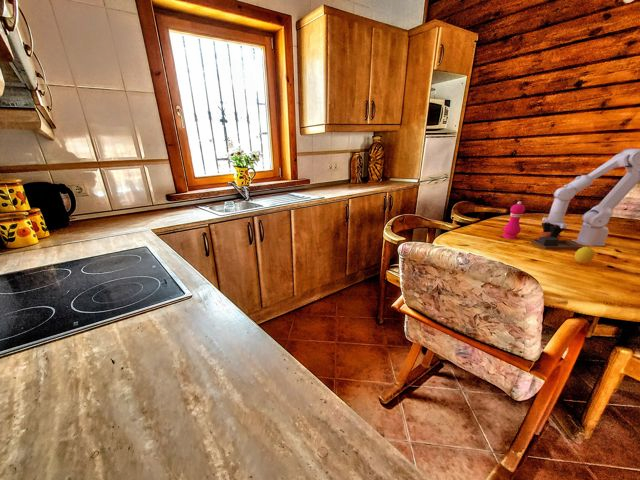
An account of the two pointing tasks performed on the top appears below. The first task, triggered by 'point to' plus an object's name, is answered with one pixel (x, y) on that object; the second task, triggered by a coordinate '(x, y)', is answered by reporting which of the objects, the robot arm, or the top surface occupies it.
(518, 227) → the pepper mill
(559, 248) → the backing tray
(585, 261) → the lemon
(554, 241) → the pad
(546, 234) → the pad
